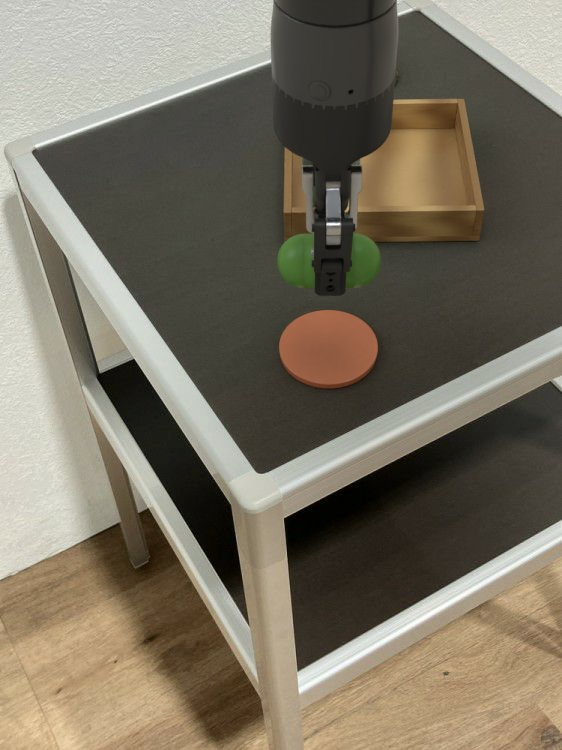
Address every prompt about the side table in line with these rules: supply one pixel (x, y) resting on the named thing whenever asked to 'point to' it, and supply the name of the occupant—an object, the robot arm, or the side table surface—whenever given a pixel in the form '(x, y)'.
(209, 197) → the side table surface
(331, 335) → the plate
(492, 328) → the side table surface
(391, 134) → the wooden tray
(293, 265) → the cucumber
